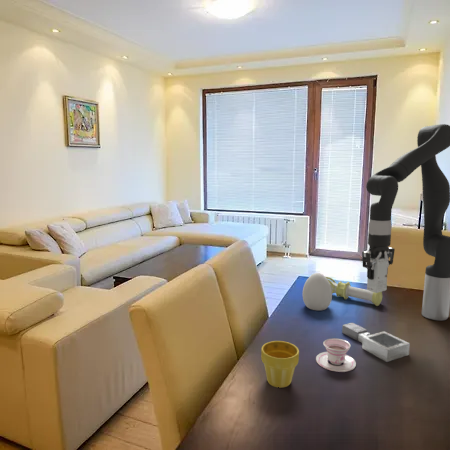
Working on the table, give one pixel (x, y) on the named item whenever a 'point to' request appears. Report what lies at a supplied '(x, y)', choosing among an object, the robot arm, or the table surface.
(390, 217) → the robot arm
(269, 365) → the plant pot
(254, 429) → the table surface
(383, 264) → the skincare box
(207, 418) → the table surface
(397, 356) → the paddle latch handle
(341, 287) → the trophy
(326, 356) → the teacup
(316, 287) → the decorative egg
